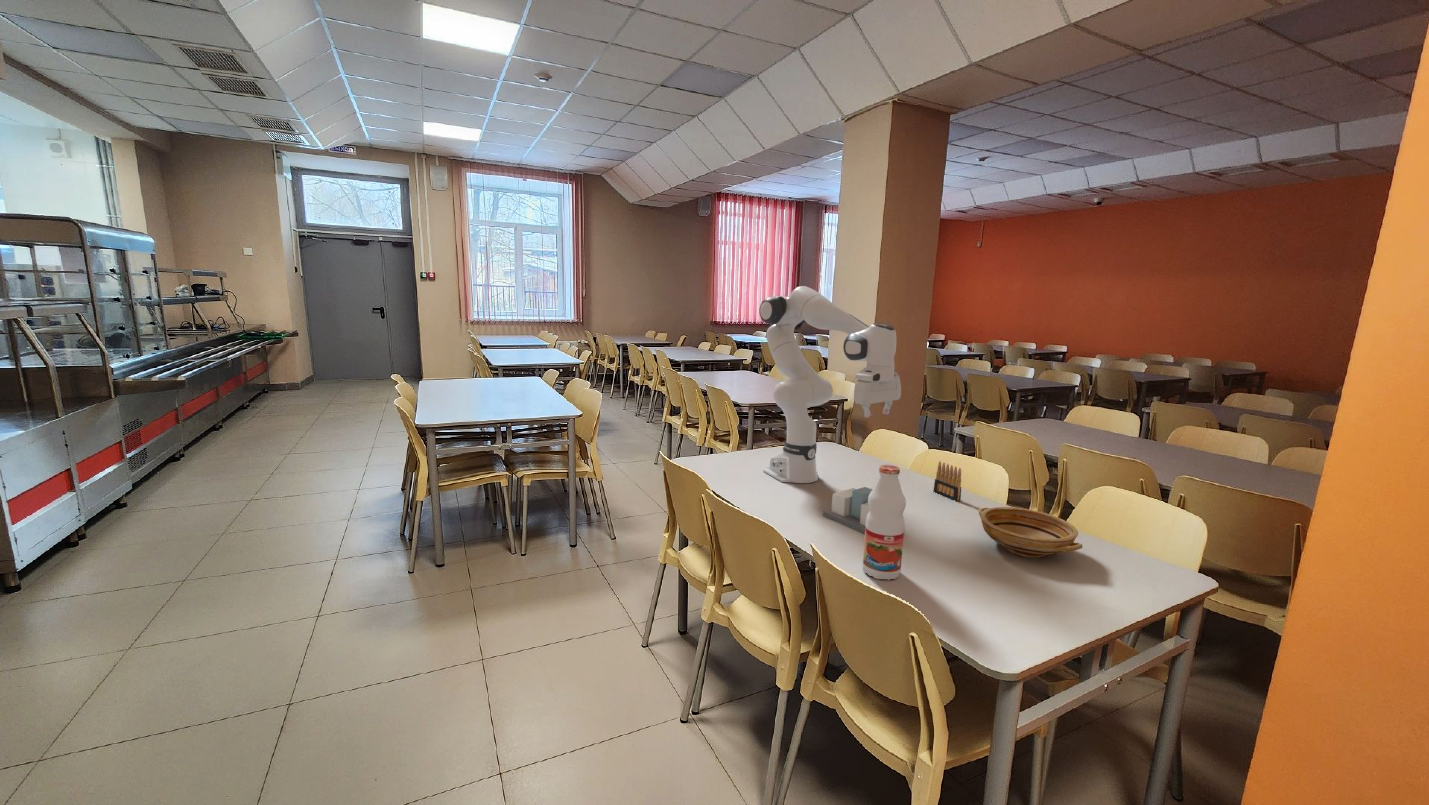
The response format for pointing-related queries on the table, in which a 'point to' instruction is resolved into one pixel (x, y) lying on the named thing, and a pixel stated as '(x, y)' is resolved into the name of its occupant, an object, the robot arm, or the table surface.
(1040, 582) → the table surface
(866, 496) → the block
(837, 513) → the board
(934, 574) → the table surface
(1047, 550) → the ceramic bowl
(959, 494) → the ammunition clip
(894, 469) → the fruit juice
